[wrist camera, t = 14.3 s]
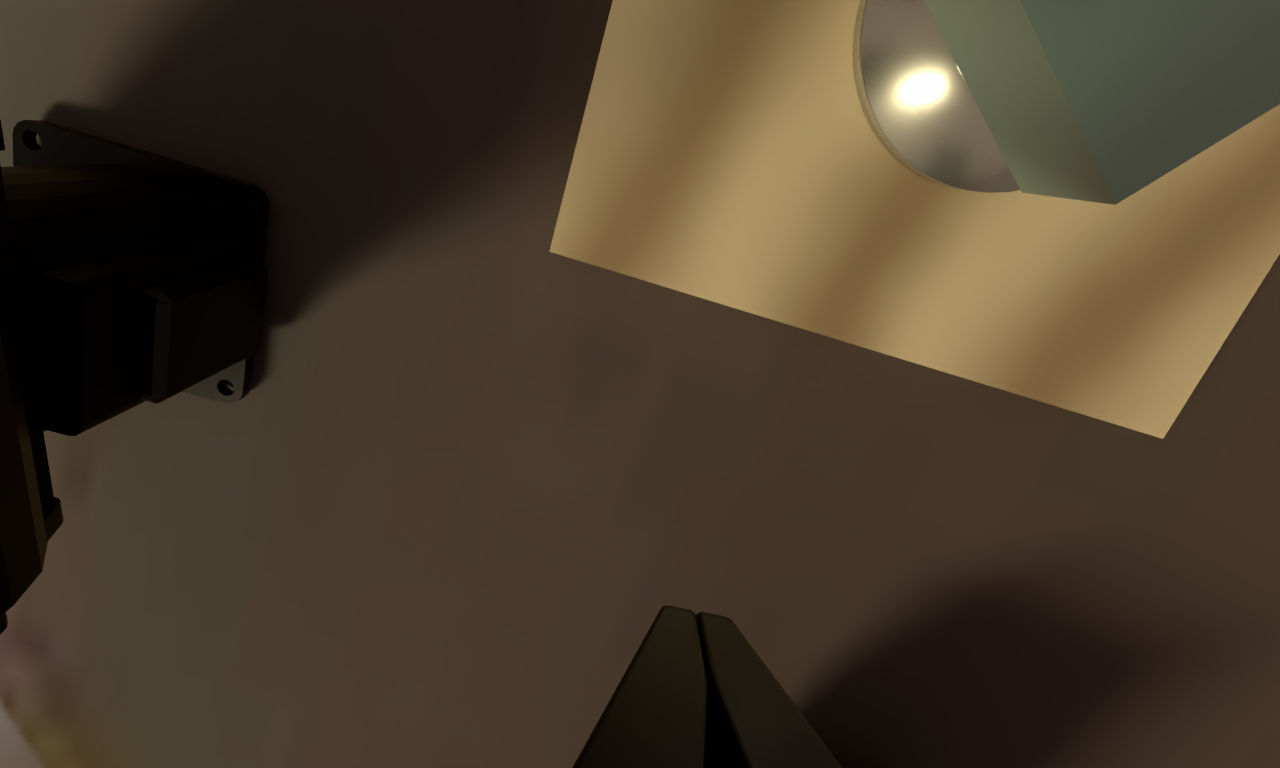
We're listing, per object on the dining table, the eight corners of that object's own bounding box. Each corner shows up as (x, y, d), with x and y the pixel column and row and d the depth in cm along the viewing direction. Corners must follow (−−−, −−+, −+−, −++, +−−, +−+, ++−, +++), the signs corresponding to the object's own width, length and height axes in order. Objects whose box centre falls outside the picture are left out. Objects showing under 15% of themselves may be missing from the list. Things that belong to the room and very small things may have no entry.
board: (554, 246, 18) (549, 251, 18) (752, -533, 13) (759, -585, 12) (1139, 424, 20) (1163, 438, 19) (1533, -220, 14) (1594, -246, 14)
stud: (808, 141, 16) (838, 141, 14) (930, -194, 14) (997, -278, 11) (1065, 225, 17) (1146, 241, 14) (1224, -85, 15) (1359, -140, 12)
